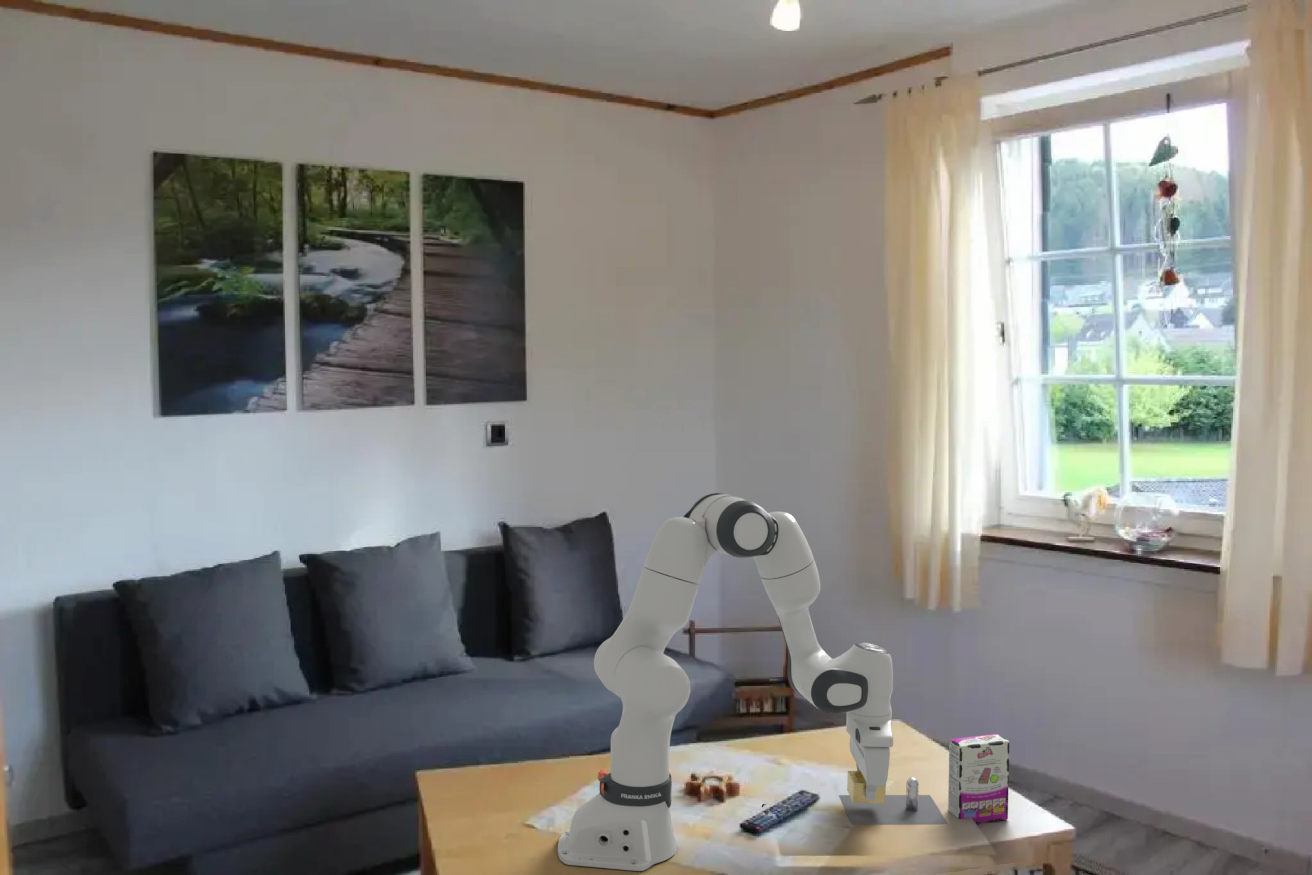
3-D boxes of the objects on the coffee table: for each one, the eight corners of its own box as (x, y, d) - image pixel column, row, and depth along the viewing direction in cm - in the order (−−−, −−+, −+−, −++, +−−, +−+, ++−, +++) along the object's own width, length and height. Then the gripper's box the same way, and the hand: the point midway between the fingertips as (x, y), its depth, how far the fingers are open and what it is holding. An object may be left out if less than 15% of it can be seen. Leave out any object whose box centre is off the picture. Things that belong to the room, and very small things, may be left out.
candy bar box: (994, 810, 235) (997, 732, 234) (1008, 820, 231) (1011, 741, 229) (945, 816, 232) (948, 737, 231) (958, 826, 228) (961, 746, 226)
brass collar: (852, 802, 228) (853, 782, 228) (847, 789, 234) (847, 770, 234) (885, 803, 228) (885, 783, 228) (878, 790, 234) (879, 771, 234)
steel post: (907, 811, 231) (908, 780, 230) (904, 806, 233) (905, 775, 233) (919, 811, 231) (920, 780, 230) (916, 806, 233) (917, 775, 233)
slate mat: (851, 831, 225) (851, 824, 225) (838, 801, 239) (838, 795, 239) (948, 831, 225) (948, 823, 225) (929, 801, 239) (929, 794, 239)
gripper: (843, 706, 240) (841, 771, 241) (862, 741, 220) (859, 811, 221) (873, 707, 240) (871, 771, 241) (895, 741, 220) (892, 811, 221)
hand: (865, 790), depth 231 cm, fingers closed on brass collar, 6 cm apart
